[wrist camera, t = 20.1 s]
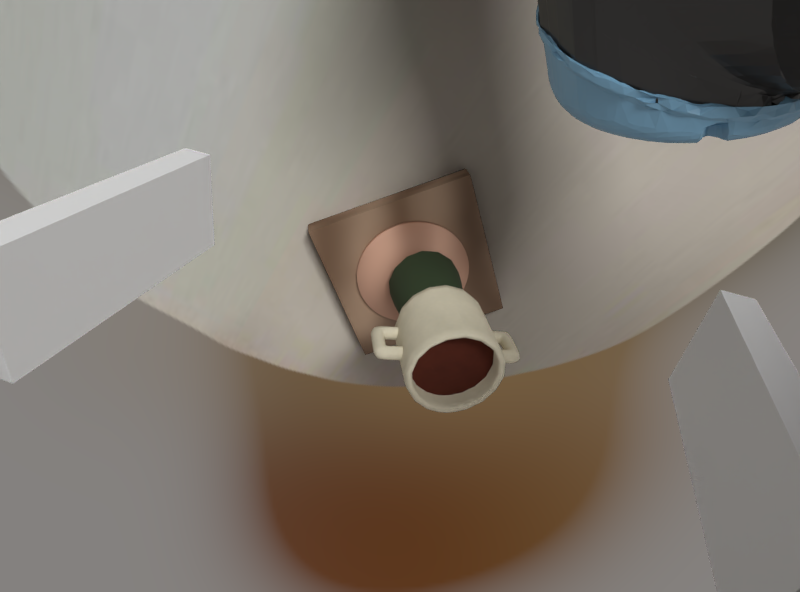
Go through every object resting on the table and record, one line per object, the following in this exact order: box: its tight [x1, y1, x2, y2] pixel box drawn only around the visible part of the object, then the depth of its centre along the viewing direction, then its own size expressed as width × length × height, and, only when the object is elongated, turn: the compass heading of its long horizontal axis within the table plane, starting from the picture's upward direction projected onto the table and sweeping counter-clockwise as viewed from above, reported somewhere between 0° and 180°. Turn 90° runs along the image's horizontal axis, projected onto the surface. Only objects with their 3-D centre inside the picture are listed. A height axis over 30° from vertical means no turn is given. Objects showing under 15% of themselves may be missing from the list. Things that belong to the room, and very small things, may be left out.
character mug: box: [371, 251, 520, 413], centre depth 41 cm, size 11×7×13 cm, turn 81°
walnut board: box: [308, 169, 503, 355], centre depth 46 cm, size 14×14×2 cm
